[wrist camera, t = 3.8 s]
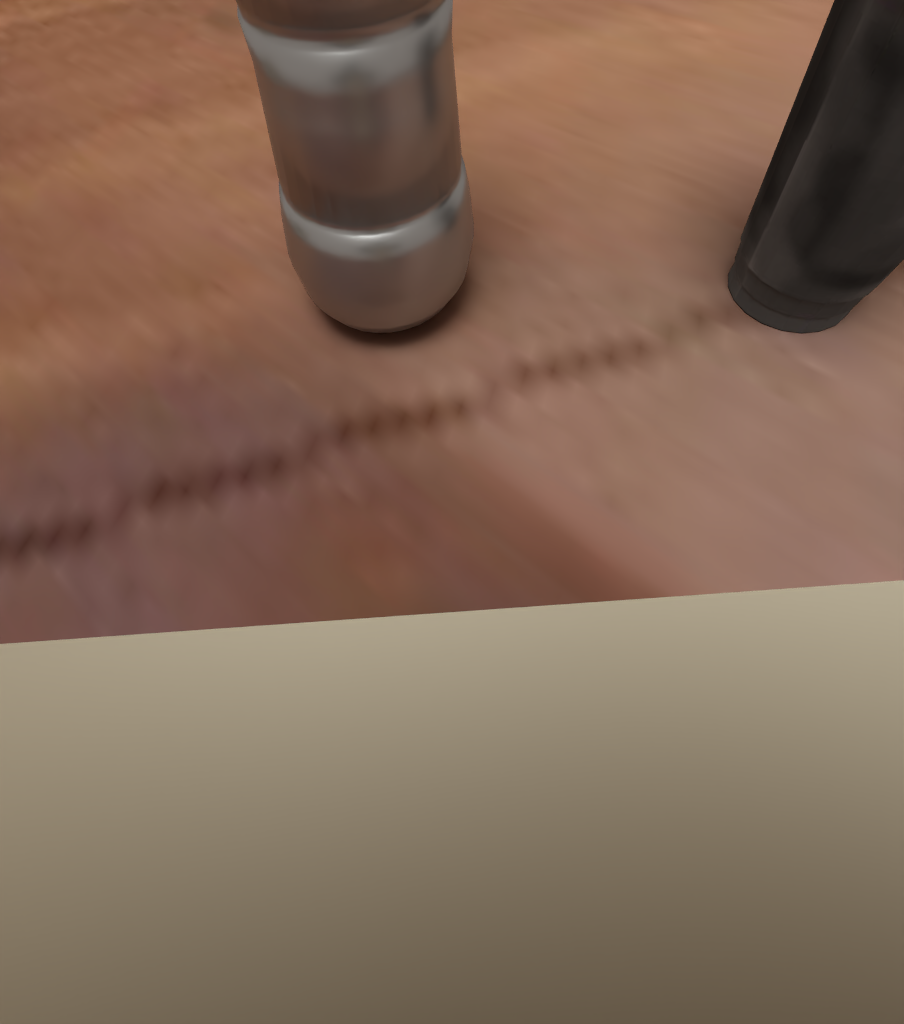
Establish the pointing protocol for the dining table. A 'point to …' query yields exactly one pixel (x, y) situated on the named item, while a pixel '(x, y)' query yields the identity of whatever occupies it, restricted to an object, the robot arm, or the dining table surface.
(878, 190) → the beverage cup
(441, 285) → the plastic bottle
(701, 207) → the dining table surface
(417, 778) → the birch block
